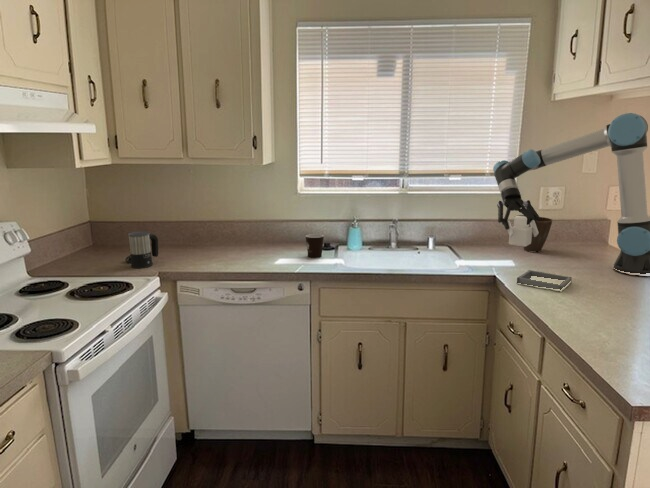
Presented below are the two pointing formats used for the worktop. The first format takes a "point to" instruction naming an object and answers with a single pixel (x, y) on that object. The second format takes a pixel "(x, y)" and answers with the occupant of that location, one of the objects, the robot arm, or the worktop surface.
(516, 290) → the worktop surface
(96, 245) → the worktop surface
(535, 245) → the plant pot
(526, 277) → the tray
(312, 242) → the coffee mug
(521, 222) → the medicine bottle
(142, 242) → the milk frother
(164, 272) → the worktop surface
